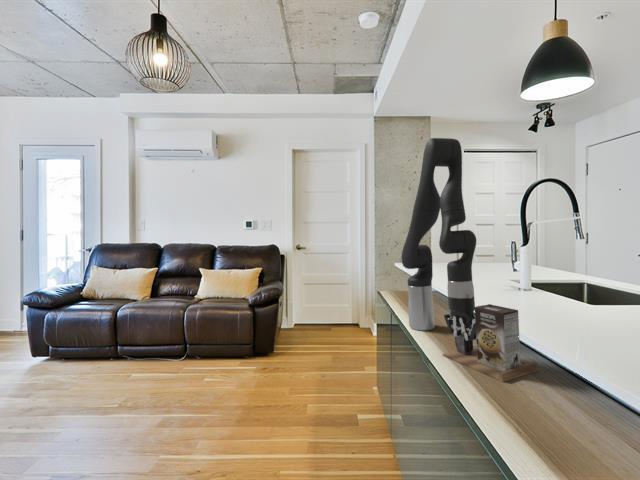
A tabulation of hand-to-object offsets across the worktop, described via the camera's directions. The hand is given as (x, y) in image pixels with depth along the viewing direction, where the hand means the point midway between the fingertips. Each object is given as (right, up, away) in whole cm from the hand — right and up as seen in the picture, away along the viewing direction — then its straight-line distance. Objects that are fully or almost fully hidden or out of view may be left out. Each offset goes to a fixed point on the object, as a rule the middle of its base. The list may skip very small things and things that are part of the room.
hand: (464, 349), depth 102 cm
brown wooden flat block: (+3, -1, -7) cm, 8 cm away
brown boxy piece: (+5, -1, -11) cm, 12 cm away
